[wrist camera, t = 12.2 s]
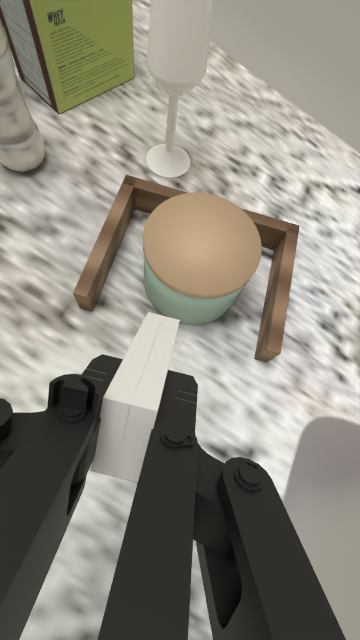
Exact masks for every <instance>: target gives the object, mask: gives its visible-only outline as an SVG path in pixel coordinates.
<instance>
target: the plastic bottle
mask: <svg viewBox="0 0 360 640" xmlns="http://www.w3.org/2000/svg"><path fill="white" fill-rule="evenodd" d="M44 156H45V145H44V140H43V137H42V135H41V133H40V131H39V129H38V127H37V126H36V124H35V123H34V121H33V119H32V117H31V114H30V112H29V110H28V108H27V106H26V103H25V101H24V99H23V96H22V93H21V90H20V86H19V83H18V80H17V77H16V73H15V69H14V65H13V60H12V56H11V51H10V47H9V42H8V38H7V35H6V31H5V29H4V27H3V25H2V24H1V22H0V162H1V163H2V164H3V165H4V166H5V167H7V168H9V169H11V170H14V171H18V172H25V171H30V170H33V169H35V168H36V167H38V166H39V165H40V164H41V163H42V161H43V158H44Z"/></svg>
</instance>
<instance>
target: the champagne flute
mask: <svg viewBox="0 0 360 640" xmlns="http://www.w3.org/2000/svg"><path fill="white" fill-rule="evenodd" d="M211 12H212V0H151V10H150V22H149V33H148V44H147V56H146V62H147V66H148V69H149V72H150V74H151V76H152V77H153V79H154V81H155V82H156V84H157V85H158V86H159V87H160V88H161V89H162V90H163V91H164V92H165V93H166V94H168V95H169V103H168V117H167V131H166V144H160V145H156V146H154V147H153V148H151V149H150V150H149V151H148V153H147V155H146V163H147V165H148V167H149V168H150V169H151V171H153V172H154V173H156V174H157V175H160V176H163V177H170V178H172V177H178V176H181V175H183V174H184V173H185V172H187V170H188V169H189V167H190V158H189V156H188V154H187V153H186V152H185V151H184V150H183V149H182V148H180V147H178V146H175V145H174V137H175V128H176V118H177V108H178V98H179V96H182V95H184V94H185V93H187V92H189V91H190V90H192V89H193V88H194V87H195V86H196V85H197V84H198V83H199V82H200V81H201V79H202V78H203V76H204V74H205V72H206V68H207V58H208V47H209V35H210V23H211Z"/></svg>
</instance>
